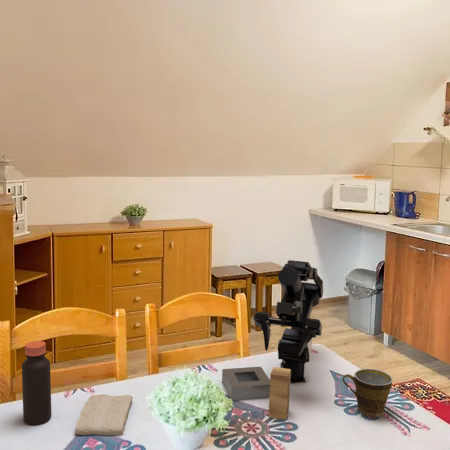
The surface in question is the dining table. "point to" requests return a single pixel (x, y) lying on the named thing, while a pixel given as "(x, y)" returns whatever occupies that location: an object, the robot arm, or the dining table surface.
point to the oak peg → (279, 393)
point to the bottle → (36, 384)
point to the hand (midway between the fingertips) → (282, 352)
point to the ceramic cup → (371, 390)
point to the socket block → (246, 383)
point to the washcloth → (104, 415)
